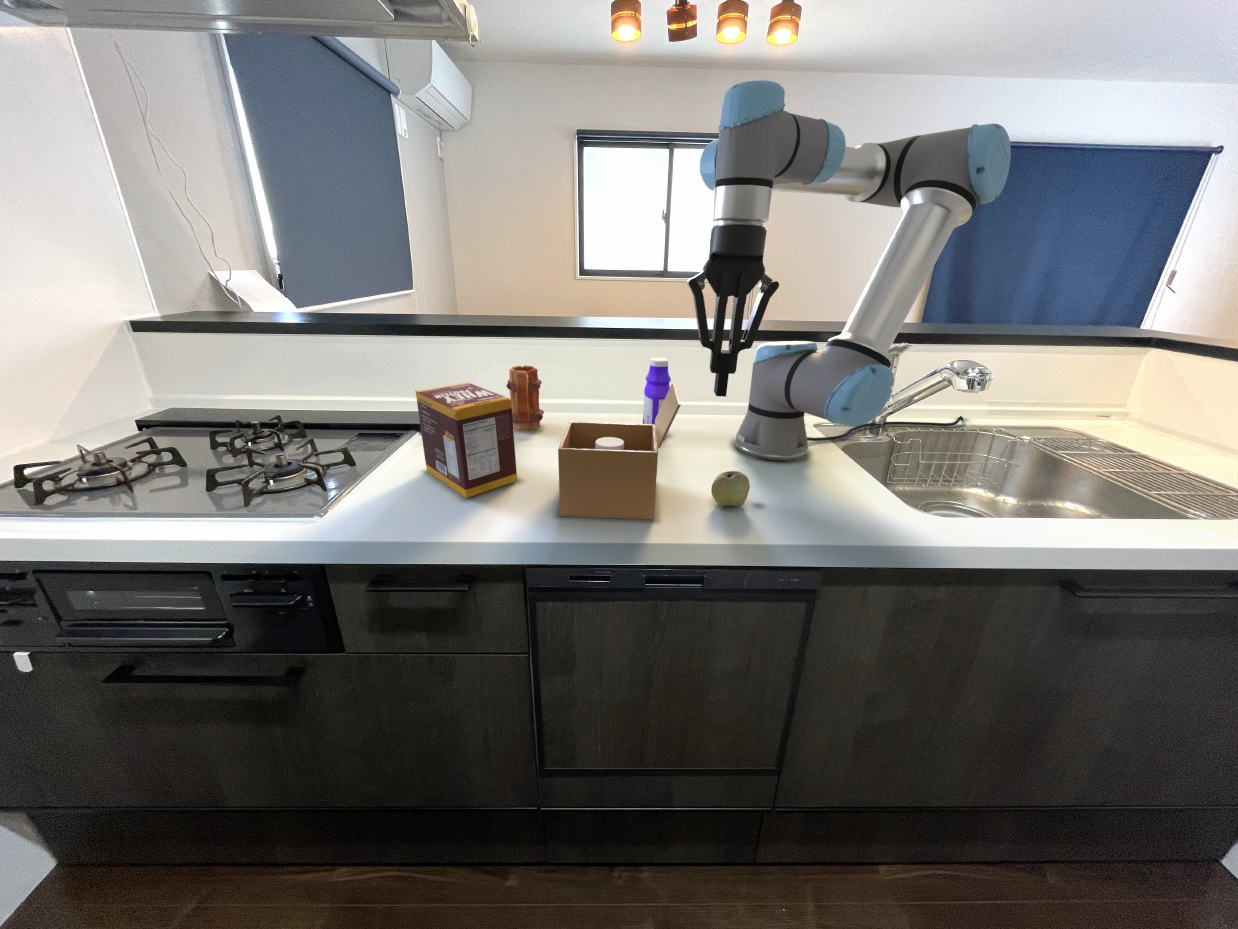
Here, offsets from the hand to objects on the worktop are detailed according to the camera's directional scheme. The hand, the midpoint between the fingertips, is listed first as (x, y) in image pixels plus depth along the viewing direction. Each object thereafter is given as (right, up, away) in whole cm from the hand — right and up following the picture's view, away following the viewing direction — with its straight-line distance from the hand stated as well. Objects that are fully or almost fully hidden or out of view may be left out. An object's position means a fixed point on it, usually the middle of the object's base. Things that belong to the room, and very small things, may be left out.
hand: (719, 393), depth 76 cm
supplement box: (-43, -13, +15) cm, 48 cm away
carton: (-17, -17, +8) cm, 25 cm away
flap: (-8, -3, +2) cm, 9 cm away
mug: (-37, -4, +38) cm, 53 cm away
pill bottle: (-17, -16, +8) cm, 25 cm away
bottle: (-7, -4, +39) cm, 40 cm away
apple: (+4, -18, +8) cm, 20 cm away
